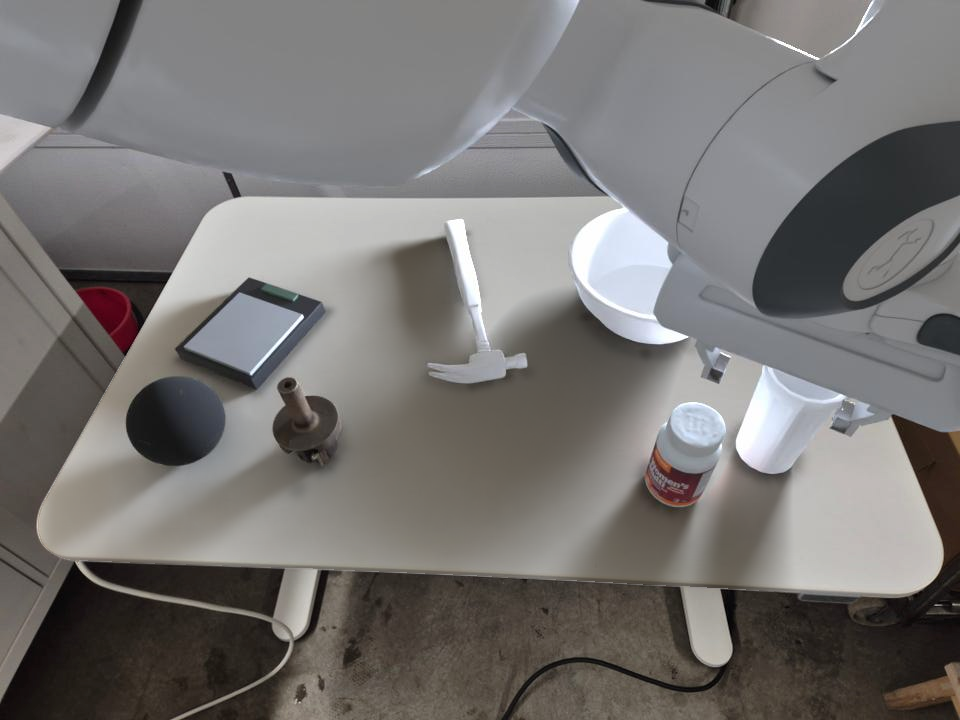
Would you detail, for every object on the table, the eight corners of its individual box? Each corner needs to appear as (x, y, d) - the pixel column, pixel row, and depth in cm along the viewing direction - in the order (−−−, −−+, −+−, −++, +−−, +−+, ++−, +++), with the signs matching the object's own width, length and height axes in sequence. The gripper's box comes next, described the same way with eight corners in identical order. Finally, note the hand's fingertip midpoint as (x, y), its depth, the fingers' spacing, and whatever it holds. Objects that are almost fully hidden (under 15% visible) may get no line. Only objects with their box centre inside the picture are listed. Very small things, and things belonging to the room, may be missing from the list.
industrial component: (293, 420, 74) (261, 356, 65) (352, 418, 74) (328, 353, 64) (276, 490, 68) (238, 430, 59) (341, 489, 67) (313, 428, 58)
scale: (256, 390, 77) (249, 377, 75) (180, 358, 81) (171, 345, 79) (325, 311, 86) (321, 298, 84) (253, 287, 90) (247, 273, 88)
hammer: (431, 391, 76) (429, 375, 73) (407, 240, 95) (404, 224, 92) (528, 374, 77) (528, 358, 74) (484, 228, 96) (483, 212, 93)
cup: (807, 434, 69) (861, 351, 58) (798, 494, 64) (855, 416, 53) (733, 411, 71) (771, 328, 60) (719, 467, 67) (758, 388, 56)
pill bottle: (633, 488, 66) (651, 429, 57) (661, 448, 69) (681, 387, 60) (686, 520, 63) (713, 464, 54) (713, 478, 66) (742, 418, 57)
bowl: (669, 235, 92) (681, 187, 86) (771, 334, 79) (794, 286, 72) (536, 280, 87) (537, 233, 81) (620, 394, 74) (630, 349, 67)
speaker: (233, 399, 76) (201, 347, 69) (243, 464, 70) (209, 414, 63) (150, 426, 74) (107, 374, 67) (152, 494, 68) (106, 447, 61)
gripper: (658, 234, 38) (628, 374, 48) (1055, 360, 30) (916, 494, 41) (694, 181, 41) (658, 323, 52) (1060, 283, 33) (930, 426, 44)
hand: (774, 399), depth 46 cm, fingers open, 8 cm apart
